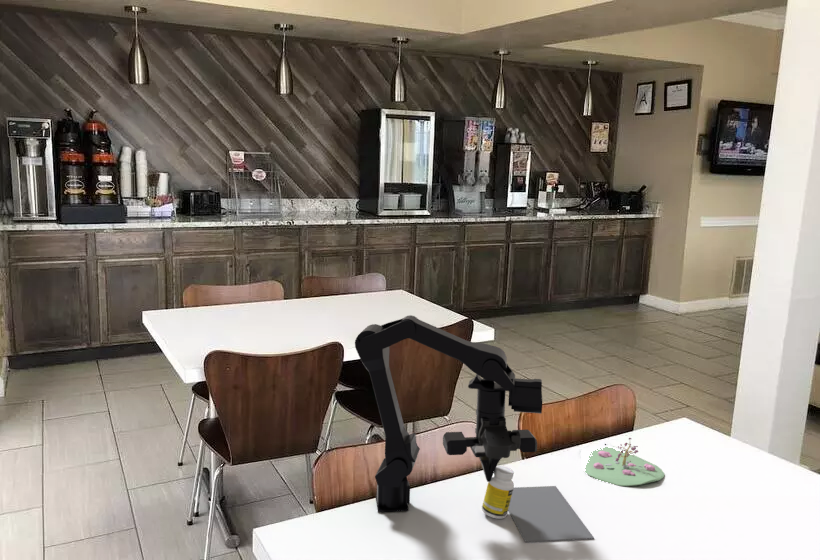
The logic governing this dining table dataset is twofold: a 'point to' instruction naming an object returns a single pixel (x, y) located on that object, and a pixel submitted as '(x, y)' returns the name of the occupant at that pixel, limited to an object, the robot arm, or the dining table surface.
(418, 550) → the dining table surface
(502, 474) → the supplement bottle
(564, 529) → the mat
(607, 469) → the plant
